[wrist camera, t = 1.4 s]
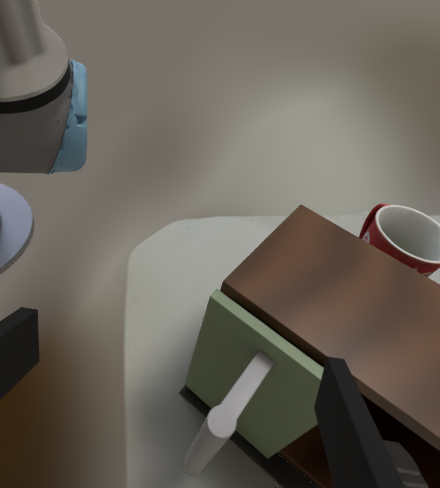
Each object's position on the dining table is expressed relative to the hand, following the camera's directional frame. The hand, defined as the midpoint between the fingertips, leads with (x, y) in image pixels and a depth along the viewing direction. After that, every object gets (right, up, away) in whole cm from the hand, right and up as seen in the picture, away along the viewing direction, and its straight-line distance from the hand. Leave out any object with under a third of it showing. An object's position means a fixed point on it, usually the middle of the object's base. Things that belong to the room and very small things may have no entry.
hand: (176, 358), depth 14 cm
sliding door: (+1, -13, +15) cm, 19 cm away
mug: (+21, -1, +32) cm, 38 cm away
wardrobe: (+10, -11, +20) cm, 25 cm away
